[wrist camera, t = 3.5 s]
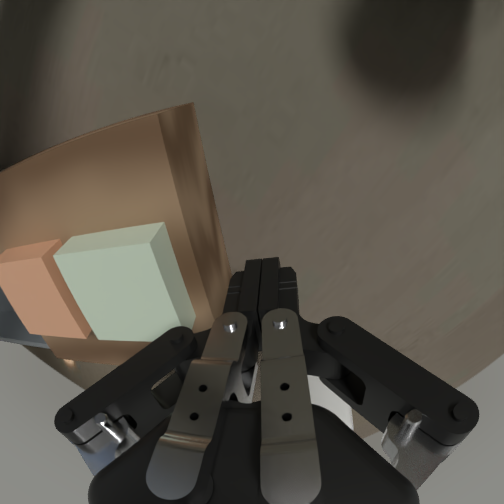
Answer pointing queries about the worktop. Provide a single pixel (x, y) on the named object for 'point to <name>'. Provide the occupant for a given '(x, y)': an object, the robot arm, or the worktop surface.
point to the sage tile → (126, 282)
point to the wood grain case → (123, 208)
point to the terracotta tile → (41, 291)
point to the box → (15, 325)
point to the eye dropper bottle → (329, 400)
